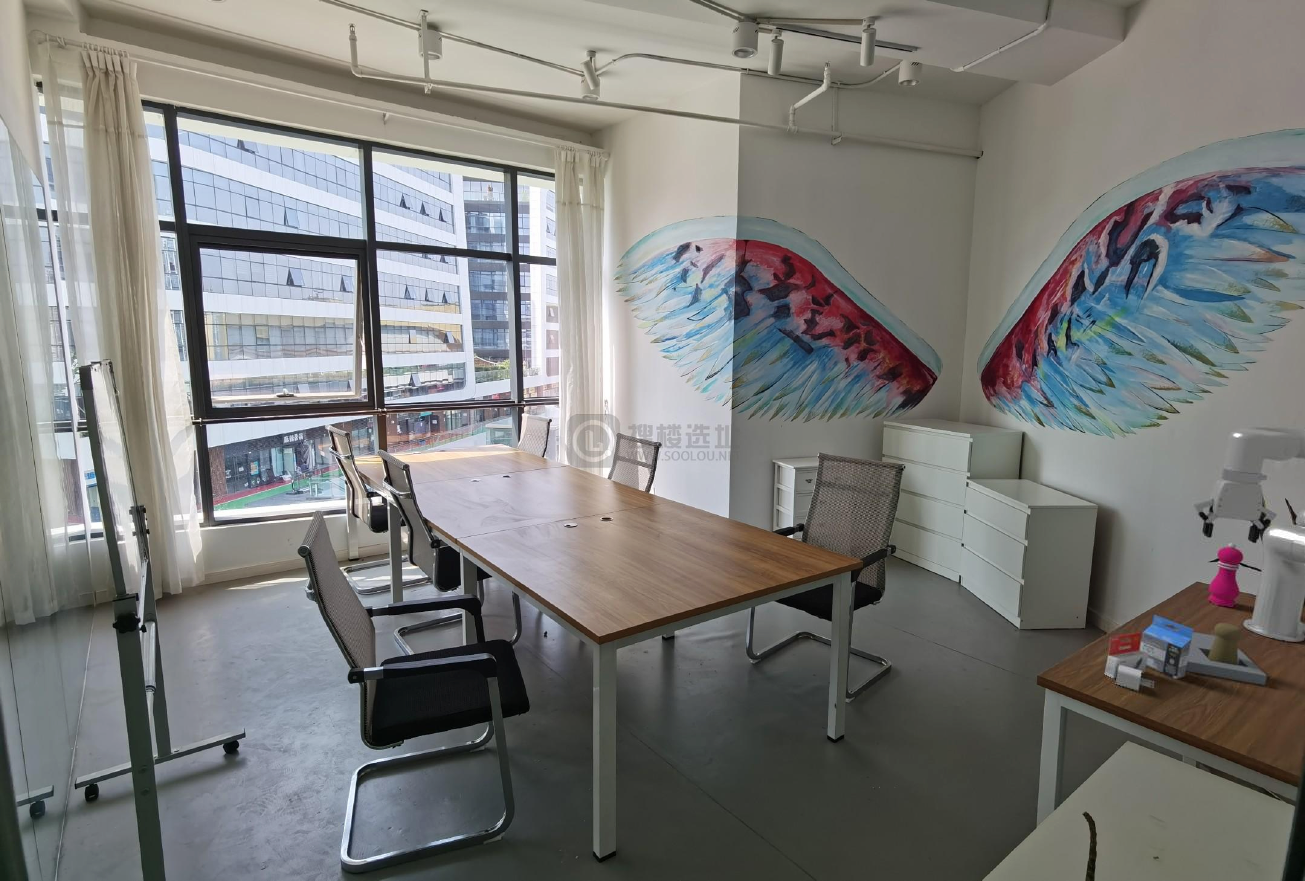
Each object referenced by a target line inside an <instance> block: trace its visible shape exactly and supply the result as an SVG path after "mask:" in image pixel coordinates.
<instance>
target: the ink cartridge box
mask: <svg viewBox="0 0 1305 881" xmlns="http://www.w3.org/2000/svg"><path fill="white" fill-rule="evenodd" d="M1109 638H1110V639H1109V647H1108V655H1107V660H1106V663H1105V664H1106V665H1105V670H1104V675H1105V676H1106V675H1107V676H1106V677H1108V676H1109V677H1108V678H1110V677H1111V679H1112V678H1117V672H1118V667H1119V664H1120V665H1123V666H1127V667H1130V668H1134V669H1137V670H1141V671H1142V673H1143V674H1145V673H1146V668H1147V666H1146V664H1147V659H1148V654H1147V653H1144V652H1142V651H1140V646H1141V640H1142V632H1141V631H1140V632H1134V633H1127V634H1122V635H1116V636H1115V635H1114V636H1110V637H1109ZM1125 638H1127V639H1129V641H1123V640H1124V639H1125ZM1122 641H1123V642H1122ZM1144 672H1145V673H1144Z"/></svg>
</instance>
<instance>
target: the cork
mask: <svg viewBox="0 0 1305 881" xmlns="http://www.w3.org/2000/svg"><path fill="white" fill-rule="evenodd" d="M1213 630H1214V634H1215V636H1216V637H1215V640H1214V642H1213V645H1212V648H1211V650H1210V653H1209V655H1208V659H1209V660H1210V661H1215V662H1221V663H1226V664H1232V665H1238V649H1239V648H1238V647H1239V646H1238V642H1239V641H1240V640H1241V639H1242V638H1243V632H1242V629H1241V628H1240V627H1238V626H1236V625H1233V624H1230V623H1227V622H1226V623H1225V622H1219V623H1217V624H1216V625H1215V626H1214V629H1213Z"/></svg>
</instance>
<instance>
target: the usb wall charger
mask: <svg viewBox="0 0 1305 881" xmlns="http://www.w3.org/2000/svg"><path fill="white" fill-rule="evenodd" d="M1141 673H1142V671H1141V670H1137V669H1134V668H1130V667H1127V666H1123V665H1120V664H1119V667H1118V672H1117V678H1116V679H1115V685H1116V684H1117V686H1119V685H1120V687H1123V686H1124V687H1123V688H1126V687H1127V688H1126V689H1129V688H1130V689H1129V690H1132V689H1134V691H1136V690H1137V691H1136V692H1139V689H1140V685H1141V686H1145V687H1147V688H1152V689H1154V688H1155V681H1153V680H1150V679H1146V678H1143V677H1142V674H1141Z"/></svg>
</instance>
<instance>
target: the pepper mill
mask: <svg viewBox="0 0 1305 881" xmlns="http://www.w3.org/2000/svg"><path fill="white" fill-rule="evenodd" d="M1236 547H1237V546H1236V543H1234V542H1229V543H1228V546H1226V547H1221V548H1220V549H1219V550H1218V552H1217V558H1218V564H1217V566H1218V572H1217V574H1216V575H1215V577H1214V578H1213V579H1212V581H1211V582H1210V584H1209V587H1208V591H1209V592H1210V595H1208V596H1209V597H1208V601H1209V600H1210V601H1211V602H1213V603H1215V604H1217V605H1216V606H1218V605H1222V606H1228V607H1230V606H1231V607H1232V606H1236V600H1235V599H1236V598H1238V597H1239V596H1240V587H1239V585H1238V582H1237V578H1236V576H1237V570H1239V569H1240V563H1242V561H1243V560H1244V554H1243V552H1242V551H1241V550H1239V549H1237V548H1236ZM1215 604H1214V605H1215ZM1222 606H1221V607H1222ZM1228 607H1227V608H1228Z"/></svg>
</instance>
